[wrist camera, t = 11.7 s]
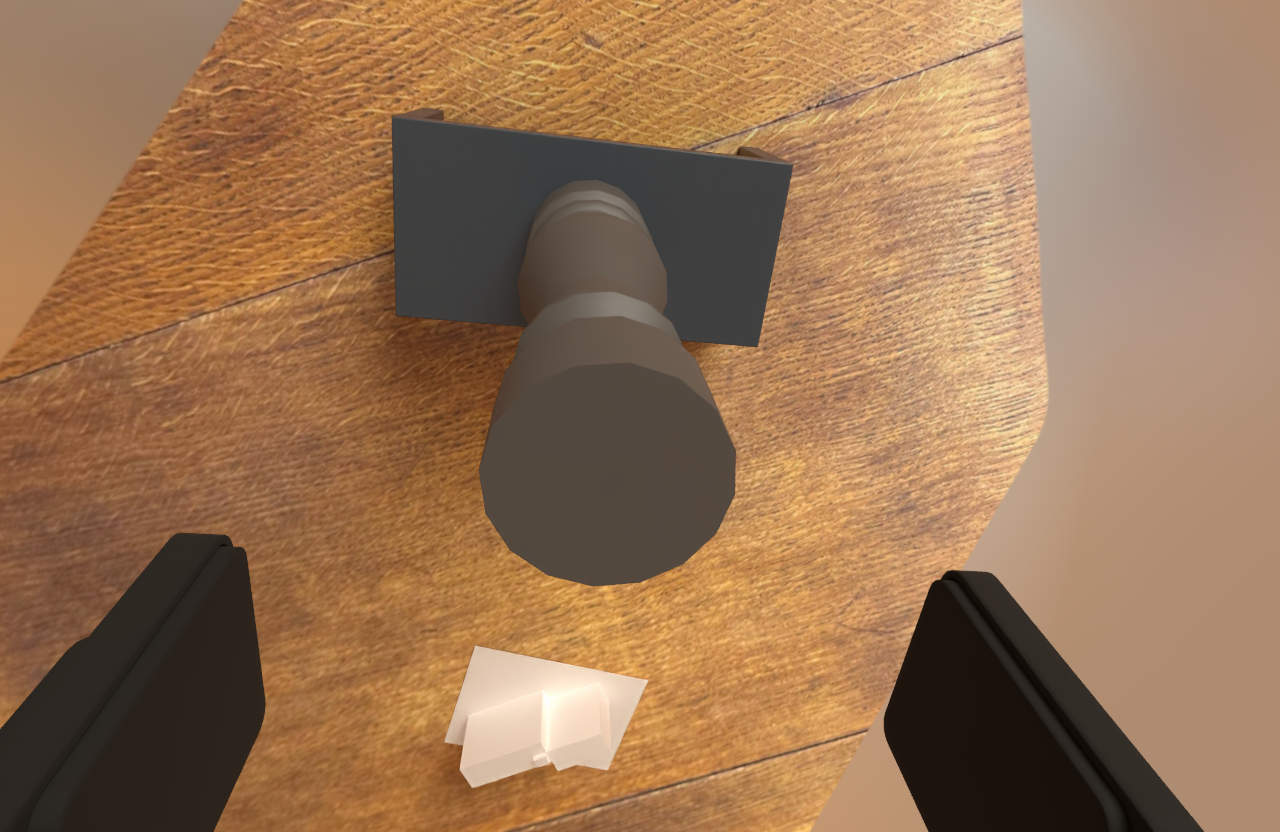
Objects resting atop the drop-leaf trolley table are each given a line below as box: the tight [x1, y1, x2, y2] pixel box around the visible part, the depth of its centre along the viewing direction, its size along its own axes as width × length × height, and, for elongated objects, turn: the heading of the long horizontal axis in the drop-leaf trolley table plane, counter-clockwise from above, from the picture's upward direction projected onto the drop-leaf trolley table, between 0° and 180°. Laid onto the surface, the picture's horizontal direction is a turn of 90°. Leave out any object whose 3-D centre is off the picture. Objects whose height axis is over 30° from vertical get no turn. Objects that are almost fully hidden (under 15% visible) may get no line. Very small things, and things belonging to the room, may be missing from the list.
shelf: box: [392, 108, 793, 347], centre depth 43 cm, size 20×10×8 cm, turn 83°
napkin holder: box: [444, 646, 648, 788], centre depth 61 cm, size 15×11×6 cm
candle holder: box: [479, 180, 736, 586], centre depth 28 cm, size 6×6×25 cm
